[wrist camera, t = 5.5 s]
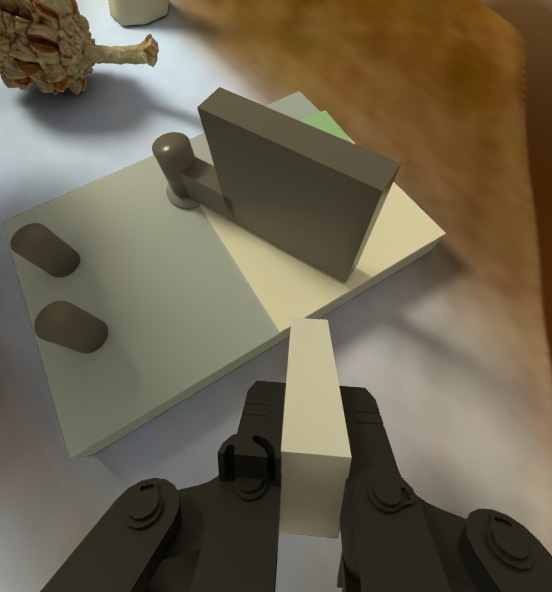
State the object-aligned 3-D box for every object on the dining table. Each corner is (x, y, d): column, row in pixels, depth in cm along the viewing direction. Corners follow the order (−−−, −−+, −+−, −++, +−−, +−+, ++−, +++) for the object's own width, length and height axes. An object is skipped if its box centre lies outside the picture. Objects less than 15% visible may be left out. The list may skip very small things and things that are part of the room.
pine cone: (-30, 108, 31) (-165, -26, 21) (22, 52, 34) (-75, -84, 25) (171, 137, 28) (114, -3, 19) (204, 72, 31) (170, -72, 22)
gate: (164, 189, 22) (102, 71, 15) (186, 168, 23) (137, 46, 15) (341, 288, 18) (377, 198, 11) (360, 259, 19) (405, 157, 12)
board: (92, 455, 18) (23, 466, 13) (24, 237, 24) (-39, 193, 19) (433, 249, 22) (471, 203, 18) (300, 111, 29) (302, 51, 24)
